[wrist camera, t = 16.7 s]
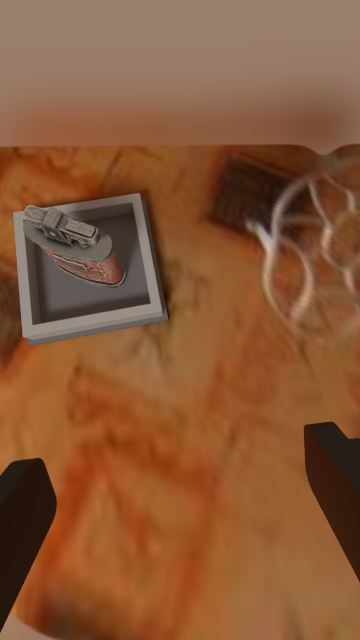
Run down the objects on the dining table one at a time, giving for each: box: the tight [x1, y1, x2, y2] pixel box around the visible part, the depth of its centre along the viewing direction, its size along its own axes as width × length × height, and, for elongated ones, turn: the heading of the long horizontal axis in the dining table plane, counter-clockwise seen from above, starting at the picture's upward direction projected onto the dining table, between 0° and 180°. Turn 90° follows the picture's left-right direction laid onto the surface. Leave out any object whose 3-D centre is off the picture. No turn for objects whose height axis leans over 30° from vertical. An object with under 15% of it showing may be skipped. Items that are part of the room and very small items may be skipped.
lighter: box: [23, 205, 126, 289], centre depth 26 cm, size 8×3×10 cm, turn 71°
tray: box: [13, 193, 168, 346], centre depth 30 cm, size 15×15×2 cm
